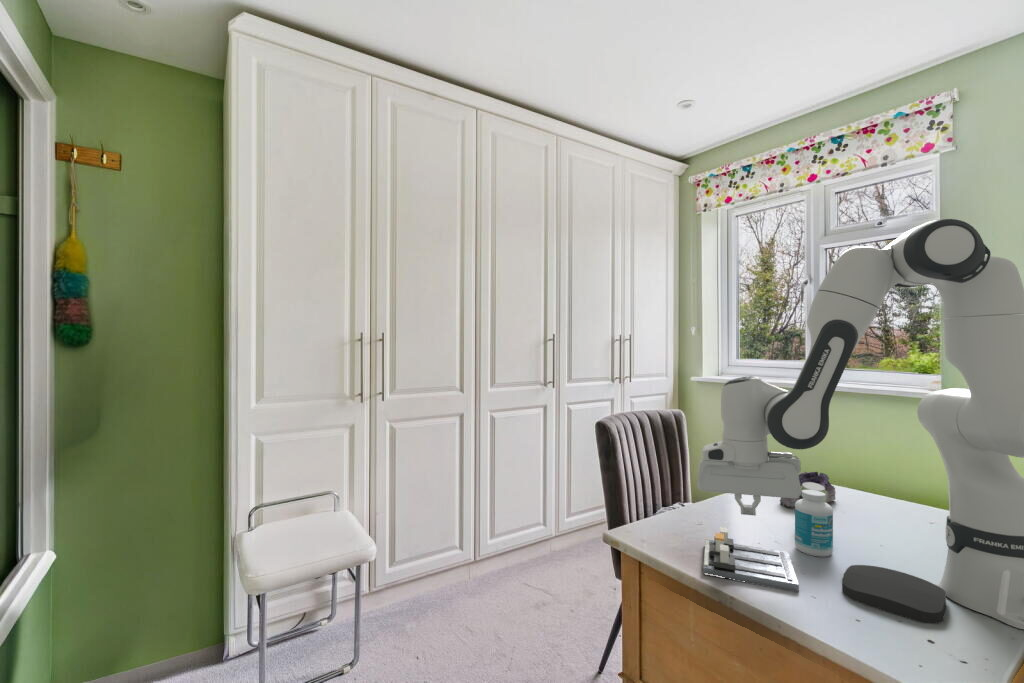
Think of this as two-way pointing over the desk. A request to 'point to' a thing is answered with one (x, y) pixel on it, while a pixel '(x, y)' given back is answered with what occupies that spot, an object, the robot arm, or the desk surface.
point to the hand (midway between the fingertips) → (748, 514)
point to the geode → (815, 478)
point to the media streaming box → (895, 593)
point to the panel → (755, 566)
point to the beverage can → (813, 488)
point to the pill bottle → (814, 524)
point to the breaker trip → (717, 545)
